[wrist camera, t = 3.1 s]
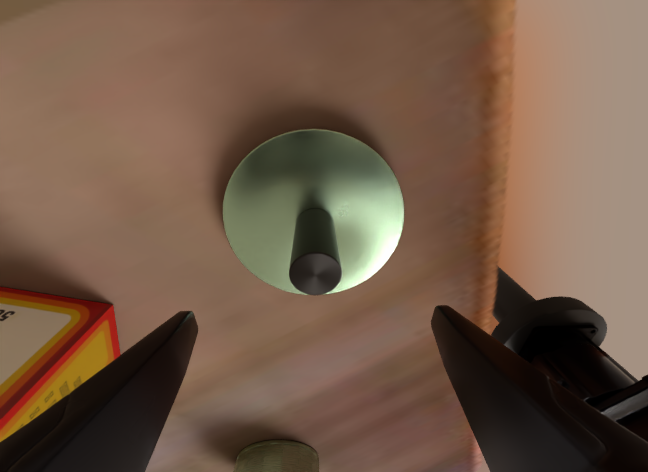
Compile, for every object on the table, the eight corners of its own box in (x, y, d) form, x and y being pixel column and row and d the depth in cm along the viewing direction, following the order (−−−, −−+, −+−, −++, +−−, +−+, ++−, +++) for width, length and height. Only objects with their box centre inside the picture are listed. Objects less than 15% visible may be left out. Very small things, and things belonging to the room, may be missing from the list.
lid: (413, 127, 14) (473, 143, 9) (387, 284, 20) (416, 354, 14) (211, 126, 14) (147, 143, 8) (241, 287, 19) (213, 360, 14)
